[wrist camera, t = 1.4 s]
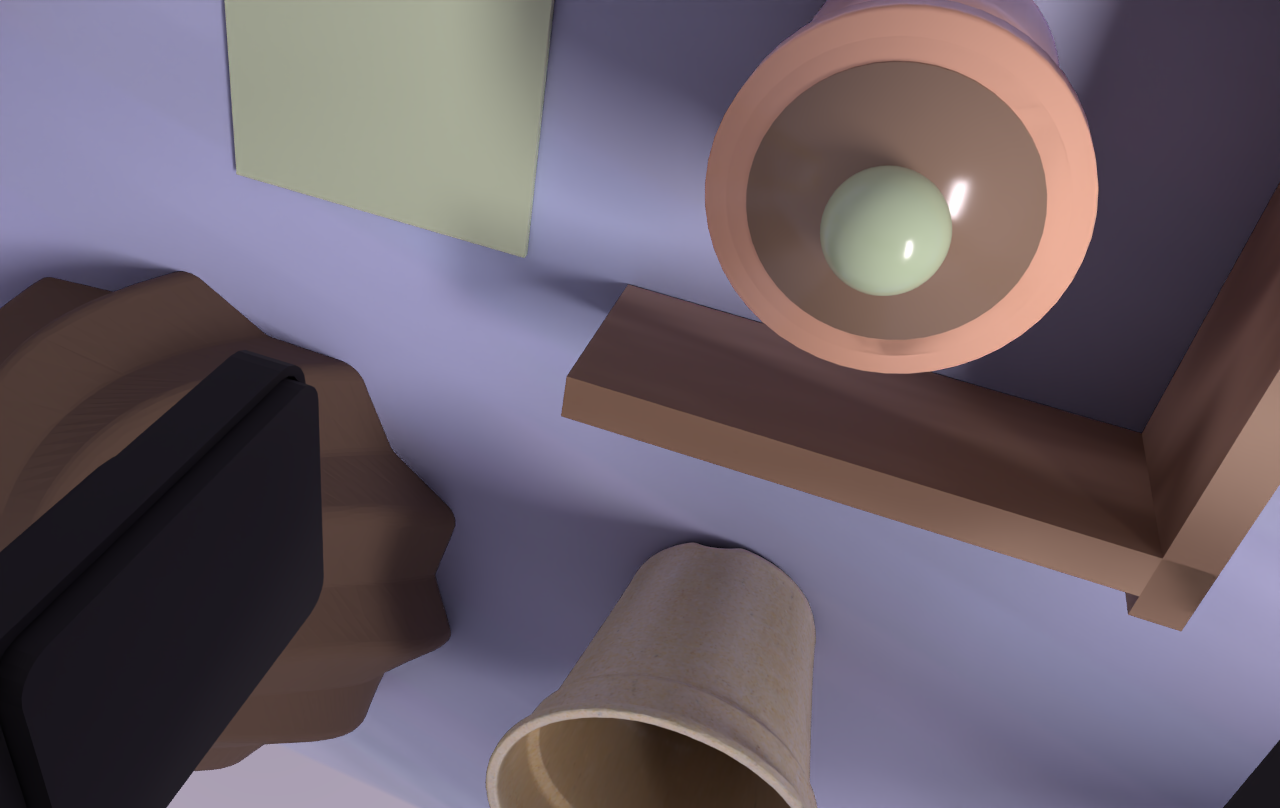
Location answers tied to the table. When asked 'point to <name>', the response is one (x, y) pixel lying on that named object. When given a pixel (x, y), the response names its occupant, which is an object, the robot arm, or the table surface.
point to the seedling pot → (904, 182)
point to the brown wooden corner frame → (974, 437)
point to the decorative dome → (350, 481)
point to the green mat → (396, 107)
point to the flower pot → (677, 697)
